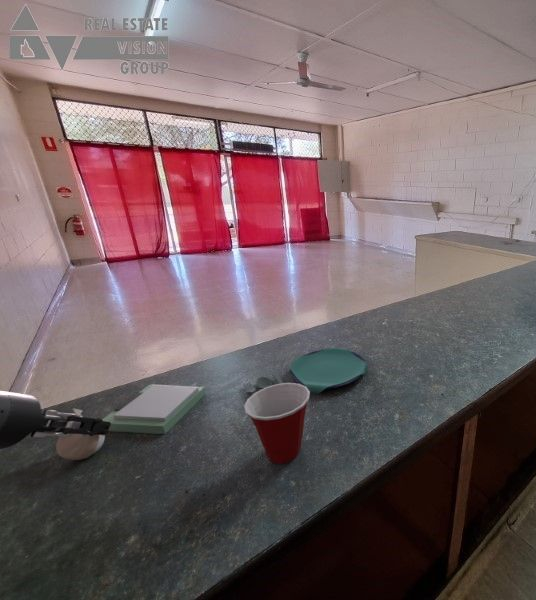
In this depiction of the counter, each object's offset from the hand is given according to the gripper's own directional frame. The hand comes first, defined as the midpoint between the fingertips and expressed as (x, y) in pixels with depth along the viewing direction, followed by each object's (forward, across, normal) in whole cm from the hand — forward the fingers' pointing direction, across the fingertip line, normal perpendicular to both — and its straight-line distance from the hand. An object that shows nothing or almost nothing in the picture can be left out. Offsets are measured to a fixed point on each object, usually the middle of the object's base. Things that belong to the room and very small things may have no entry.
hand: (86, 427), depth 57 cm
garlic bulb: (+2, 0, +4) cm, 5 cm away
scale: (+10, -4, -4) cm, 12 cm away
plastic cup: (+4, -35, +2) cm, 35 cm away
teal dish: (+21, -33, -15) cm, 42 cm away
